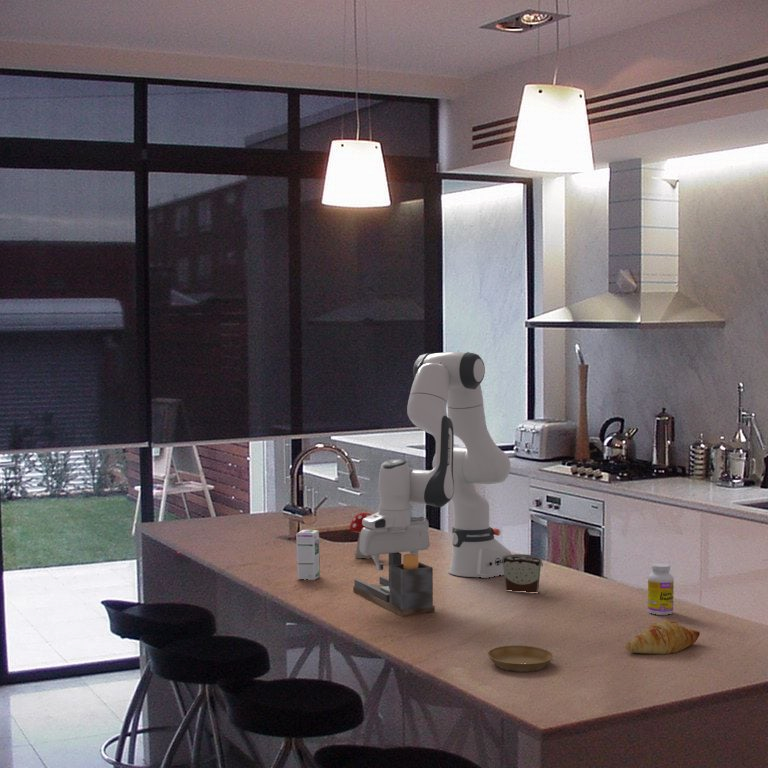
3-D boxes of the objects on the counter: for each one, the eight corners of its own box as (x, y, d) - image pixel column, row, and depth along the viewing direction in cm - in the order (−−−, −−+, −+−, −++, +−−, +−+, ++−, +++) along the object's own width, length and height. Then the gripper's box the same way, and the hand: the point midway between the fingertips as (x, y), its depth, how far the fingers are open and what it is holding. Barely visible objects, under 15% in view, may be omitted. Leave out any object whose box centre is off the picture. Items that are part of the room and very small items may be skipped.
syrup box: (315, 580, 353) (314, 532, 352) (296, 579, 354) (296, 532, 353) (320, 576, 358) (319, 529, 358) (301, 575, 360) (301, 529, 359)
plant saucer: (547, 655, 271) (547, 644, 271) (558, 674, 256) (558, 663, 256) (484, 656, 270) (484, 645, 270) (491, 675, 256) (491, 663, 256)
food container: (548, 589, 337) (548, 555, 337) (542, 594, 332) (542, 559, 331) (508, 586, 343) (507, 552, 342) (501, 590, 337) (500, 556, 336)
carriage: (398, 592, 328) (397, 549, 327) (410, 598, 321) (410, 554, 320) (380, 594, 326) (379, 551, 325) (392, 600, 318) (391, 556, 318)
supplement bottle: (659, 617, 305) (659, 568, 304) (642, 611, 311) (642, 563, 310) (678, 614, 308) (679, 565, 307) (661, 608, 314) (662, 561, 313)
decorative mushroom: (381, 555, 390) (381, 511, 390) (377, 560, 382) (376, 515, 381) (352, 554, 392) (352, 510, 391) (347, 559, 384) (346, 514, 383)
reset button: (414, 575, 316) (414, 553, 316) (421, 578, 313) (420, 556, 312) (401, 576, 315) (400, 554, 314) (407, 579, 311) (407, 557, 311)
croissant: (634, 672, 268) (645, 646, 264) (610, 643, 276) (619, 617, 272) (705, 658, 278) (716, 632, 274) (679, 630, 285) (690, 604, 282)
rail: (384, 588, 342) (384, 547, 341) (434, 611, 313) (434, 567, 312) (353, 591, 337) (352, 550, 337) (400, 615, 308) (400, 571, 308)
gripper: (423, 514, 329) (423, 562, 330) (356, 520, 321) (357, 569, 321) (433, 517, 323) (433, 566, 324) (366, 523, 315) (366, 574, 316)
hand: (395, 568), depth 323 cm, fingers open, 8 cm apart
